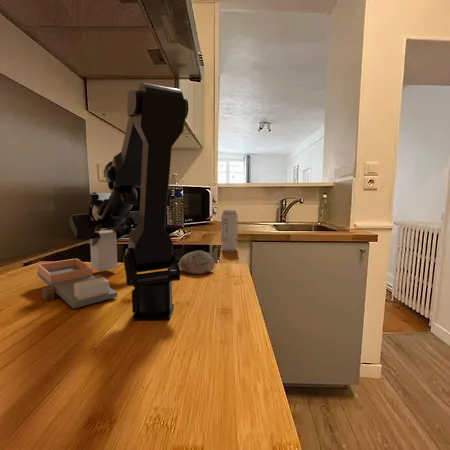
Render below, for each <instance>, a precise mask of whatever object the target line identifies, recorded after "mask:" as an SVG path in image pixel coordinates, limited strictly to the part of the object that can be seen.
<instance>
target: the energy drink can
mask: <svg viewBox="0 0 450 450" xmlns="http://www.w3.org/2000/svg"><path fill="white" fill-rule="evenodd" d="M237 213H238V212H237V210H235V209H226V210H223V211H222V214H221V223H220V224H221V226H220V227H221V228H220V229H221V230H220V231H221V234H220V235H221V237H220V238H221V240H220V241H221V243H220V245H221V247H220V248H221V250H222V252H229V253H231V252H235V251H236V250H237V249H238V222H239V221H238V217H239V215H238V214H237Z"/></svg>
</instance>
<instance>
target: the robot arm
mask: <svg viewBox="0 0 450 450" xmlns="http://www.w3.org/2000/svg"><path fill="white" fill-rule="evenodd" d="M189 110H190V109H189V101H188V99H187V98H186V97H184V93H183V92H182V90H181V89H179V88H174V87H167V86H162V85H159V84H158V85H157V84H153V83H152V84H151V83H147V82H141V83H140V84H139V86H138V88H137V89H131V90H129V91H127V116H128V120H127V124H126V128H125V133H124V138H123V141H122V142H123V144H122V148H121V151H120V152H119V153H118V154H116V155H115V156H113V159H112V161H110V162H108V163H107V164H106V165H105V166H104V171H103V178H105V180H106V181H107V185H108V189H109V190H111V192H96V191H89V192H88V194H87V196H86V197H87V198H86V203H87V204H88V205H89V206H90V207H95V208H96V209H97V211H96V214H97V216H100V217H97V219H95V220H94V219H91V217H90V215H89V214H88V213H77V214H76V213H75V214H72V215H71V216H70V217H69V218H68V219H69V220H68V223H69V225H70V227H71V230H72V232H73V235H74V238H76V239H78V240H81V239H89V244H91V246H93V245H95V244H96V242H97V241H98V240H99V239H100V238H101V236H100V234H99V231H102V230H110V231H115V232H116V240H117V241H119V240H122V239H124V238H126V237H128V245H127V248H125V252H124V255H123V257H122V260H123V265H124V266H123V267H124V271H125V280H126V283H125V285H126V286H130V287H133V289H132V291H131V308H132V309H131V311H132V313H133V316H132V320H133V321H148V320H149V321H153V320H154V321H156V320H157V321H159V320H161V321H162V320H163V321H164V320H165V321H166V320H167V321H168V320H170V319H171V317H172V314H173V310H174V307H175V303H173V282H175V281H176V282H177V281H178V282H179V281H180V280H181V274H182V269H181V268H180V266H179V261H178V259H177V255H176V253H175V250H174V247H173V246H174V245H173V240H172V238H171V237H170V235H169V233H168V232H167V230H166V221H167V210H168V198H169V197H168V196H169V183H170V172H171V160H172V149H173V146H174V145H175V143H176V142H177V141H178V139H179V138H180V136H181V135H182V133H183V132H184V128H185V123H186V119H187V118H188V114H189ZM138 188H140V194H139V201H138V192H137V189H138ZM138 204H139V211H138V210H137V211H136V210H134V211H131V209H132V208H133V206H138Z"/></svg>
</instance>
